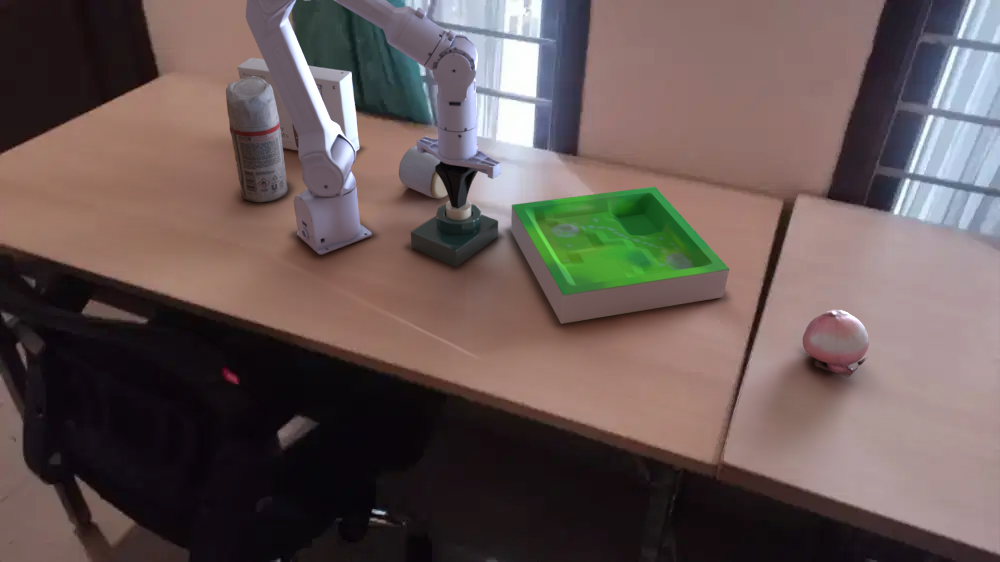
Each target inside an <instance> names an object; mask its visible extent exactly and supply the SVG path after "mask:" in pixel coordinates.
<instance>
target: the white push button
mask: <svg viewBox="0 0 1000 562" xmlns="http://www.w3.org/2000/svg"><path fill="white" fill-rule="evenodd" d="M445 204H446V217H447V218H450V219H452V220H465V219H468V218H470V217H471V204H472V202H470V200H468V199H467V200H466V204H465V205H463V206H462V207H460V208H459V209H457V208H455V207H452V206H451V203H450V200H448V201H447V202H446V203H445Z"/></svg>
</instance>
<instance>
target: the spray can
mask: <svg viewBox="0 0 1000 562" xmlns="http://www.w3.org/2000/svg"><path fill="white" fill-rule="evenodd" d="M225 97H226V109H227V116H228V123H229V133H230V136H231V142H232V147H233V152H234V160H235V163H236V171H237V175H238V181H239V184H240V195H241V197H242V198H243V199H244V200H247V201H249V202H253V203H265V202H272V201H276V200H278V199H280V198H282V197H284V196H286V194H287V192H288V190H289V189H288V185H287V174H286V164H285V155H284V154H285V153H284V148H283V146H282V138H281V131H280V122H279V116H278V113H277V107H276V102H275V98H274V94H273V89H272V87H271V85H269V84H268V83H267V82H266V81H264V80H263V79H261V78H259V77H255V76H252V77H248V78H245V79H240V78H239V79H238V80H236V81H231V82H229V83H228V84H227V87H226V88H225Z"/></svg>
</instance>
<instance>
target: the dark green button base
mask: <svg viewBox="0 0 1000 562" xmlns="http://www.w3.org/2000/svg"><path fill="white" fill-rule="evenodd" d="M498 237H499V220H497V219H495V218H492V217H490V216H487V215H485V214H482V210H481V209H480V208H479V207H478V205H477V204H473V203H471V217H470V218H468V219H465V220H452V219H450V218H447V217H446V203H444V204H443V205H441V206H439V207H438V208H437V210H436V214H435V215H434V216H433V217H431V218H430V219H428V220H427V221H425V222H423V223H422V224H421V225H419V226H417V227H416V228H414V229H413V230H411V231H410V242H411V244H410V245H411V248H412V249H414V250H415V251H418V252H420V253H423V254H425V255H427V256H429V257H432V258H434V259H437V260H439V261H441V262H444V263H446V264H448V265H451V266H453V267H455V268H456V267H458V266H460V265H461V264H462V263H464V262H465V261H467V260H468V259H469V258H470V257H472V256H473V255H475V254H476V253H477V252H479V251H480V250H481V249H483V248H484V247H486V246H487V245H488V244H489V243H492V241H493V240H495V239H497V238H498Z"/></svg>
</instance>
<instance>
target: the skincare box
mask: <svg viewBox="0 0 1000 562" xmlns="http://www.w3.org/2000/svg"><path fill="white" fill-rule="evenodd" d="M236 67H237V71H238V76H239V79H245V78H248V77H252V76H255V77H259V78H261V79H263V80H264V81H266V82H267V83H268V84H269V85H271V87H272V89H273V94H274V98H275V102H276V107H277V113H278V116H279V122H280V131H281V138H282V146H283V149H286V150H292V151H298V134H297V132H296V130H295V127H294V125H293V123H292V121H291V118H290V116H289V114H288V112H287V110H286V107H285V105H284V103H283V101H282V98H281V96H280V94H279V92H278V90H277V87H276V85H275V83H274V81H273V78H272V76H271V74H270V72H269V70H268V67H267V65H266V63H265V61H264V58H257V57H249V58H248V59H246V60H245V61H243V62H242V63H241V64H239V65H238V66H236ZM308 67H309V69H310V72H311V74H312V77H313V79H314V81H315V84H316V86H317V89H318V91H319V93H320V96H321V98H322V100H323V103H324V105H325V108H326V110H327V112H328V115H329V117H330V119H331V120H332V121H333V122H335V123H337V124H338V125H339V126H340V128H341V131H342V133H343V134H344V135H345V137H346V138H348V139H349V140H350V141H351V142H352V144H353V145H354V147H355V150H356V152H357V151H359V150H360V143H359V141H360V140H359V134H358V133H359V132H358V123H357V111H356V105H355V104H356V102H355V96H354V86H353V76H352V71H348V70H341V69H336V68H335V69H334V68H327V67H319V66H313V65H308Z"/></svg>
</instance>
